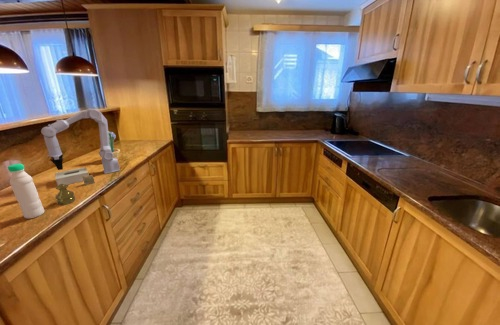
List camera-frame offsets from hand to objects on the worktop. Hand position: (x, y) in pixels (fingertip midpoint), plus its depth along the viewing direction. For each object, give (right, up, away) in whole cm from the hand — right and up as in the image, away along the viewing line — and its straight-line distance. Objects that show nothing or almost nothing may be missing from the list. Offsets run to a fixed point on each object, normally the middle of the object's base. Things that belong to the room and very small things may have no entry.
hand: (60, 168), depth 133 cm
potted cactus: (+3, +5, +45) cm, 46 cm away
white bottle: (+17, -21, -33) cm, 42 cm away
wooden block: (+18, -10, +1) cm, 20 cm away
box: (+2, -8, +7) cm, 11 cm away
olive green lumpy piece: (+22, -17, -21) cm, 35 cm away
